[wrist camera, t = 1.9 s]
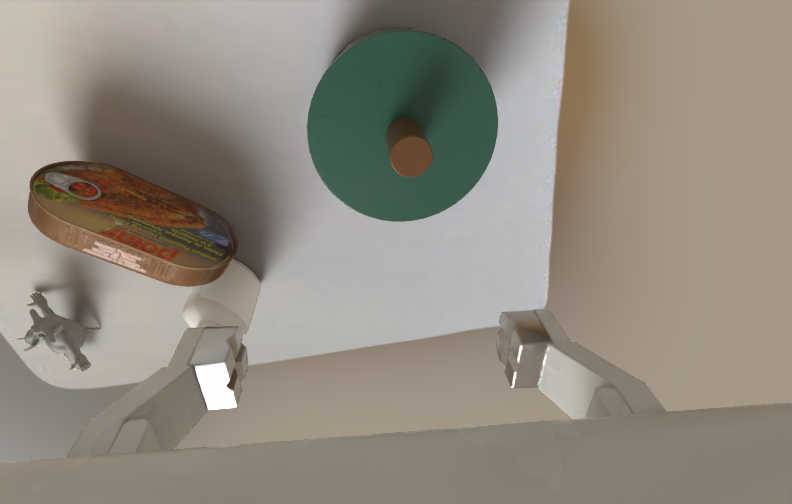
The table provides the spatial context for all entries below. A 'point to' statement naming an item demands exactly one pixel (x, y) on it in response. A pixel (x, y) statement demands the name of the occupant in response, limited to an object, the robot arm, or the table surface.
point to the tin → (130, 223)
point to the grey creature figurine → (57, 334)
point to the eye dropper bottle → (224, 299)
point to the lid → (402, 125)
